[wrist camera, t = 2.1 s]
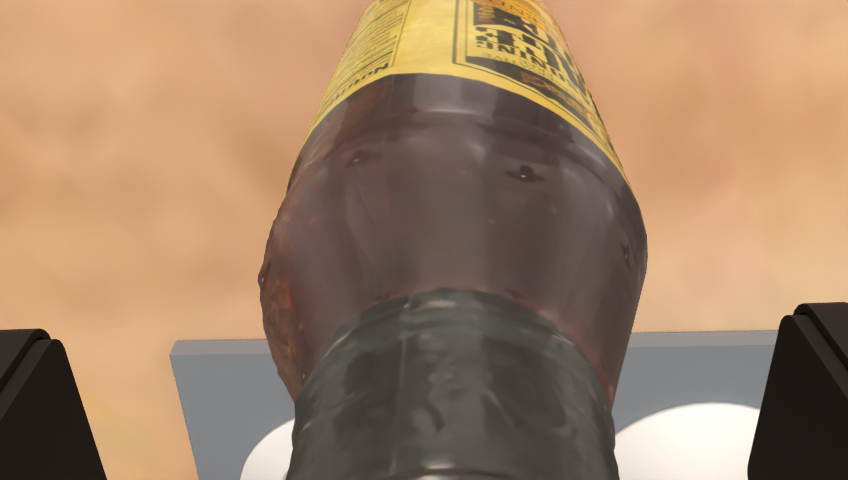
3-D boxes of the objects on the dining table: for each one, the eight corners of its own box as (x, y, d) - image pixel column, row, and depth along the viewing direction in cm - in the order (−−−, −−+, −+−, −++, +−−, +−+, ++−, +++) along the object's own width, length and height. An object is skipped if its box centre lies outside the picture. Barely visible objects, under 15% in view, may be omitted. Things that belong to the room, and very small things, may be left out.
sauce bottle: (595, 106, 24) (968, 924, 7) (411, 192, 26) (354, 1034, 9) (502, -103, 21) (753, 424, 4) (301, 8, 23) (-108, 722, 6)
